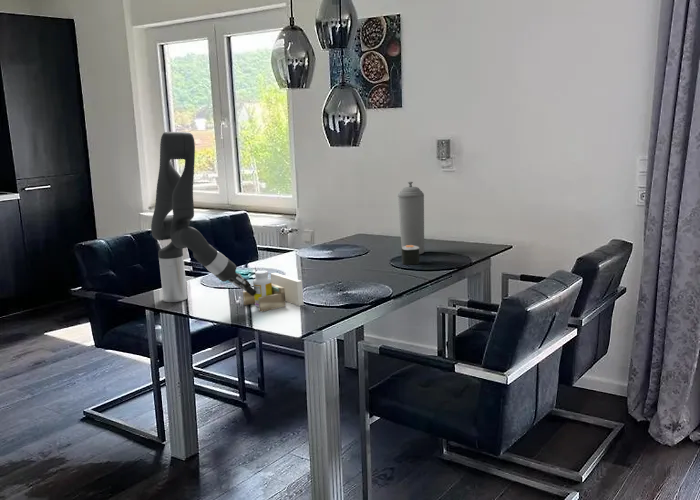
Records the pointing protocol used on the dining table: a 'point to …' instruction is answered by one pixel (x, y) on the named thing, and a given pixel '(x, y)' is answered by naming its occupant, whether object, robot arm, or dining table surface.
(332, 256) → the dining table surface
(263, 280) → the supplement bottle
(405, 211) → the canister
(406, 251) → the sushi
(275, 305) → the cradle
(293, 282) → the backstop board
